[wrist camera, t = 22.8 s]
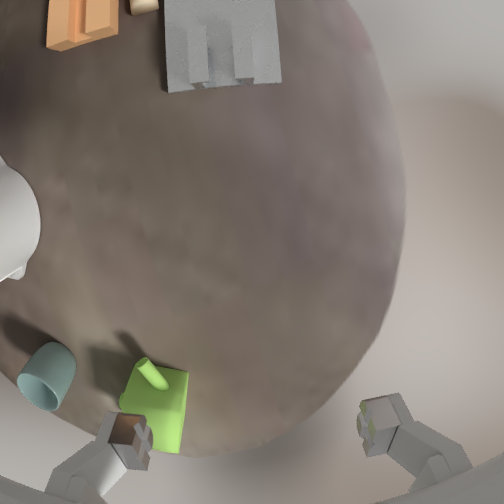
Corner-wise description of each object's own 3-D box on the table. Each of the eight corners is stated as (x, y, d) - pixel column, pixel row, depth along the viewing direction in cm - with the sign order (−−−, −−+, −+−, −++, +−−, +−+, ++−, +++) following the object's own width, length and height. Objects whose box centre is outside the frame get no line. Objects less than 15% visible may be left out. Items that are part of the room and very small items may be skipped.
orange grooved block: (62, 52, 29) (46, 47, 25) (65, -9, 26) (51, -19, 22) (121, 34, 29) (109, 26, 25) (123, -29, 26) (112, -41, 22)
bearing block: (172, 94, 32) (158, 88, 27) (167, 4, 28) (155, -16, 22) (279, 85, 33) (287, 76, 27) (271, -6, 28) (276, -28, 22)
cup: (88, 355, 45) (65, 397, 36) (73, 378, 47) (52, 418, 38) (50, 326, 43) (21, 364, 34) (38, 351, 45) (12, 388, 36)
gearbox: (125, 333, 44) (105, 375, 35) (191, 346, 45) (182, 392, 36) (130, 411, 50) (118, 451, 41) (184, 421, 51) (177, 463, 42)
